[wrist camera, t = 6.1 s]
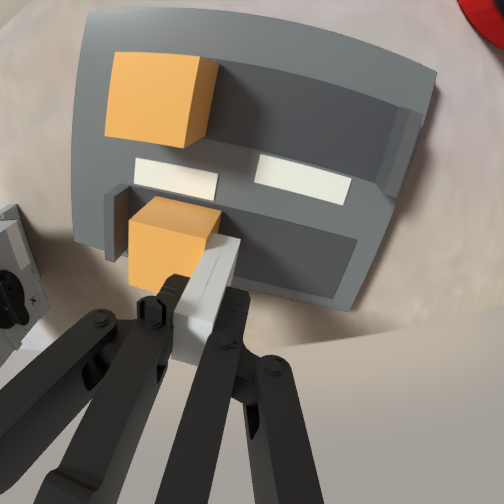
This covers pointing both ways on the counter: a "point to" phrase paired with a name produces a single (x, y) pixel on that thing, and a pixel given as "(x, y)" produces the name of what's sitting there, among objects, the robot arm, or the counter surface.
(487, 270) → the counter surface
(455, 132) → the counter surface
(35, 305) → the circuit breaker
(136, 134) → the tab
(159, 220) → the tab
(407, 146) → the switch board
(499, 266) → the counter surface
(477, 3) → the soda can
